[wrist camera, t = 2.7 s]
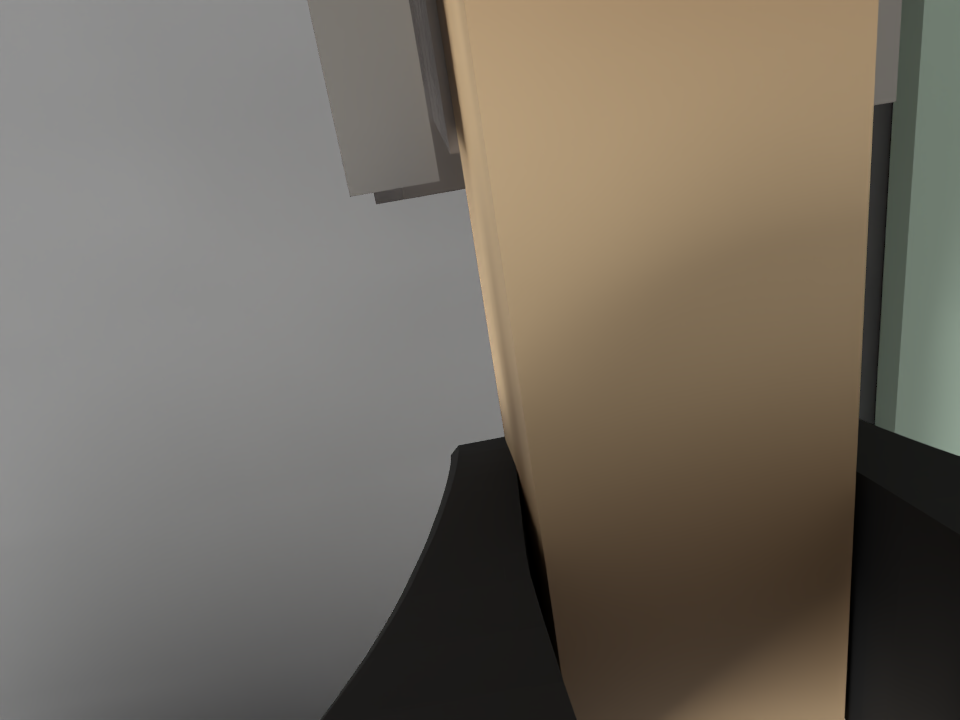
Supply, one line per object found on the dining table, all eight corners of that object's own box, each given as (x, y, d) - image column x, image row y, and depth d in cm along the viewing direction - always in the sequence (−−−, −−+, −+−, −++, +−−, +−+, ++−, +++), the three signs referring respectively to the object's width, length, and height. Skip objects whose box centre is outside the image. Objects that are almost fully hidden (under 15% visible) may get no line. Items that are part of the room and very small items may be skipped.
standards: (723, 712, 17) (845, 961, 13) (491, 760, 17) (531, 1031, 12) (688, -263, 10) (931, -485, 6) (294, -204, 10) (223, -386, 5)
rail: (746, 893, 14) (833, 1102, 11) (579, 928, 14) (627, 1149, 11) (716, -381, 7) (929, -636, 4) (377, -330, 7) (374, -560, 4)
